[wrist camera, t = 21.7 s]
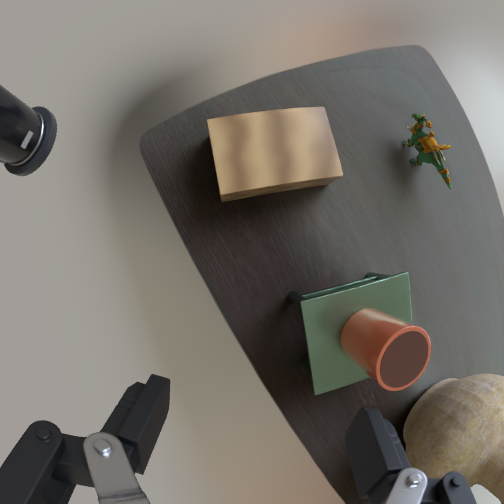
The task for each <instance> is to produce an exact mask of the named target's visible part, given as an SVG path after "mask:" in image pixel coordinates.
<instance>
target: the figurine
mask: <svg viewBox="0 0 504 504" xmlns="http://www.w3.org/2000/svg"><path fill="white" fill-rule="evenodd" d="M412 117H414V118H415V120H416V121H418V122H417V123H416V124H414V123H413V126H412V129H411V128H409V127H408V126H407V128H408V129H409V130H410V131H411V132H412V133H413V135H412V137H411V140H410V139H408V140H409V141H410V142H411V143H408V144H407V143H406V142H405V141H404V142H403V144H404V145H407V146H410V147H411V146H412V147H413V145H414V146H415V148H416V149H417V150H418V151H419V155H418V156H417V158H418V161H415V158H413V159H414V160H413V159H412V160H413V161H412V160H410V161H411V162H412V163H414V164H415V166H416V165H422V162H425V163H432V164H433V165H434V166H435V167H436V168H437V170H438V172H439V174H441V176H442V177H443V179H444V181H445V182H446V184H447V185H448V187H449V188H450V189H451V186H450V184H449V182H451V181H450V178H447V176H446V174H448V169H444V167H443V165H442V161H441V157H440V154H441V156H442V158H443V159H444V160H445V158H444V156H443V153H442V151H441V150H445V149H449V148H450V147H451V146H450V145H447V146H446V145H442V146H439V145H438V144H437V142H436V140H435V139H434V138H433V136H434V135H435V134H434V133H433V132H432V131H431V132H430V134H429V135H428V134H426V133H425V132H423V131H422V129H423V127H424V125H425V123H424V121H426V123H427V124H426V127H428V128H430V127H431V128H432V126H431V122H429V121H428V120H426V119H425V118H424V117H425V115H420V114H412ZM427 125H428V126H427ZM438 151H439V152H440V154H439V152H438ZM445 161H446V160H445ZM446 162H447V161H446ZM445 172H446V173H445Z"/></svg>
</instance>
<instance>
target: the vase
mask: <svg viewBox="0 0 504 504" xmlns="http://www.w3.org/2000/svg"><path fill="white" fill-rule="evenodd" d="M403 438H404V441H405V443H406V456H407V458H408V460H409V463H410V465H411V467H412V468H416V469H419V470H421V471H422V472H423V473H424V474H425V476H426V478H436V479H442V478H443V477H444V476H445V475H446V474H447V473H448V472H451V471H456V472H459V473H461V474H463V475H464V476H465V478H466V480H467V482H468V484H469V486H470V487H472V486H473V485H475V484H480V485H482V486H483V487H485V488H486V489H487V490H489V491H490V492H491V493H492V494H493V495H494V496H496V497H497V498H498V499H499V500H500V501H501V504H504V377H503V376H499V375H494V374H477V375H472V376H468V377H465V378H461V379H455V378H449V379H445V380H442V381H440V382H438V383H436V384H435V385H433V386H432V387H431V388H430V389H428V390H427V391H426V392H425V393H424V394H423V395H422V396H421V397H420V398H419V400H418V401H417V402H416V403H415V405H414V406H413V408H412V409H411V411H410V413H409V415H408V417H407V419H406V421H405V424H404V429H403Z"/></svg>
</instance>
